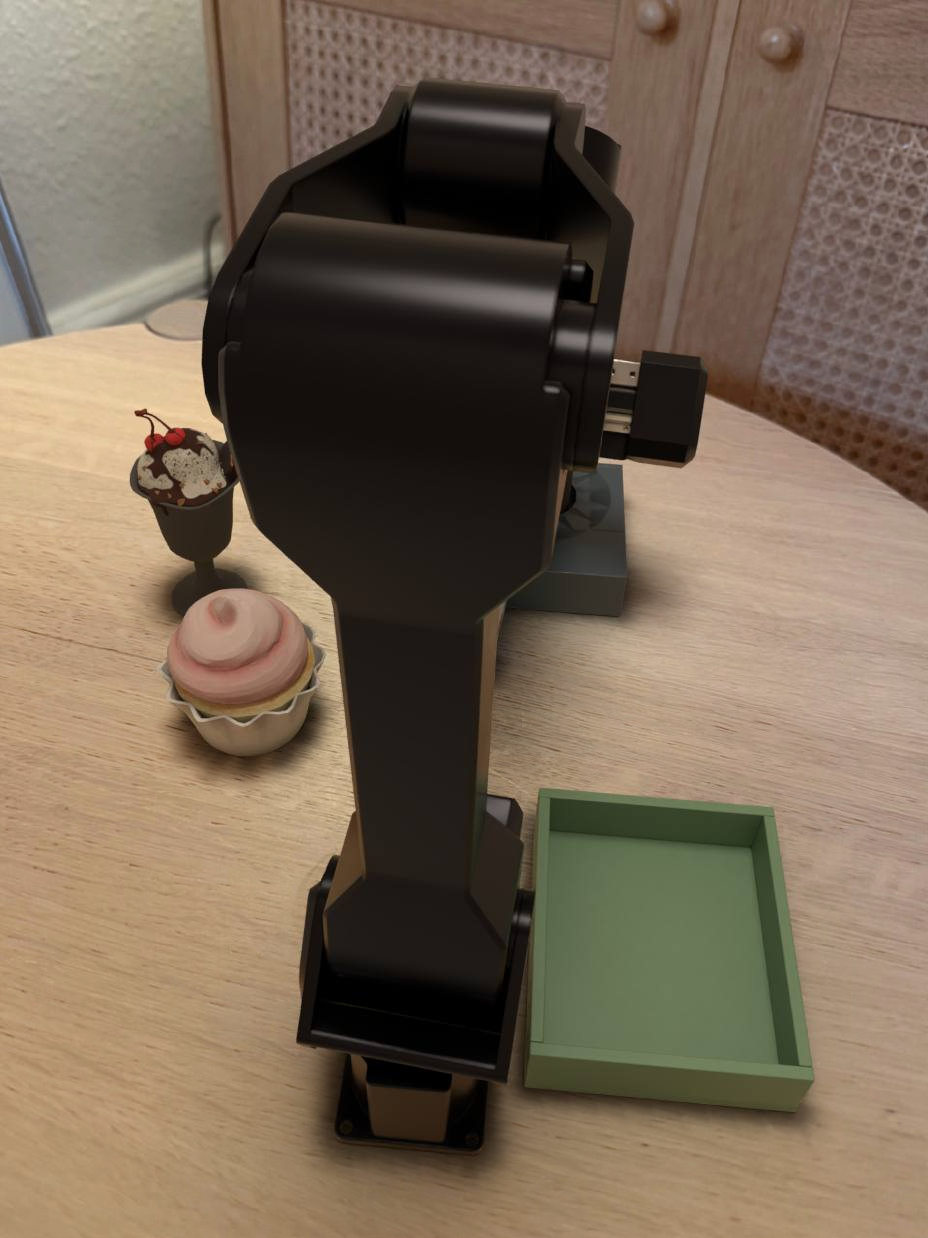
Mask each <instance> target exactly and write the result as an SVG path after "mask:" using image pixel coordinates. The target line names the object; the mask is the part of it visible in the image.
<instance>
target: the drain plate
mask: <svg viewBox="0 0 928 1238" xmlns="http://www.w3.org/2000/svg"><path fill="white" fill-rule="evenodd" d="M623 469H624V466H623V464H618V463H606V462H605V463H603V462H598V467H597V473H596V474H591V473H584V472H577V471H573V477H572V484H571V492H570V500H569V508H568V511H567V512H565V513H563V514H561V515H559V520H558V526H557V531H556V537H555V542H554V548H553V553H552V558H551V563H550V566H549V567H548V568H547V569H546V570H545V571H544V572H543V573H542V574H540V575H539V576H538V577H536V578H535V579H534V580H533V581H531V582H530V583H529V584H527V585H526V586H525V587H523V588H522V589H521V590H520V591H518V592H517V593H516V594H514V595H513V596H512V597H510V598H509V599H508V600H507V603H506V607H505V609H506V608H507V609H517V610H519V609H520V610H533V611H542V612H543V611H544V612H546V611H547V612H556V613H557V612H558V613H571V614H585V615H596V616H609V617H621V613H622V610H623V609H622V608H623V603H624V597H625V593H626V588H627V582H628V561H627V539H626V537H627V535H626V514H625V513H626V512H625V511H626V510H625V490H624V470H623Z"/></svg>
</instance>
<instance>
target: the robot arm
mask: <svg viewBox="0 0 928 1238" xmlns="http://www.w3.org/2000/svg"><path fill="white" fill-rule="evenodd" d="M586 113H587V108H586V104H585V103H581V102H572V101H571V102H570V101H567V100H566V98H565V97H564V95H563V94H562V93H561V91H560V90H559V89H552V88H541V87H540V88H539V87H531V86H522V85H512V84H511V85H510V84H502V83H501V84H500V83H491V82H490V83H489V82H479V81H470V80H460V79H459V80H458V79H450V78H449V79H448V78H439V77H429V76H424V77H423V78H422V79H421V80H420V81H418V82H417V83H416V85H414V86H409V85H399V84H398V85H397V84H396V86H395V87H394V88H393V89H392V90H391V91H390V93H389V95H388V97H387V100H386V101H385V103H384V105H383V108H382V109H381V112H380V113H379V116H378V118H377V119H376V122H375V123H374V124H373V125H371V126H370V127H368V128H366V129H364V130H362V131H360V132H358V133H356V134H355V135H353V136H350V137H348V138H347V139H345V140H343V141H341V142H339V143H337V144H336V145H334V146H332V147H330V148H328V149H326V150H324V151H323V152H322V151H321V153H319V154H317V155H315V156H313V157H311V158H309V159H307V160H305V161H303V162H301V163H299V164H298V165H295V166H294V167H292V168H290V169H288V170H286V171H284V172H283V173H280V174H278V176H276V177H275V178H274V179H273V180H272V181H271V182H269V184H268V186H267V187H266V188H265V190H264V192H263V194H262V196H261V197H260V199H259V201H258V203H257V205H256V206H255V208H254V210H253V212H252V213H251V215H250V216H249V219H248V220H247V222H246V224H245V225H244V227H243V229H242V230H241V232H240V234H239V236H238V237H237V239H236V241H235V243H234V245H233V247H232V248H231V249H230V251H229V253H228V255H227V257H226V259H225V260H224V261H223V264H222V265H221V267H220V269H219V271H218V273H217V275H216V278H215V280H214V283H213V285H212V288H211V290H210V292H209V295H208V299H207V304H206V310H205V315H204V320H203V326H202V334H201V335H202V338H201V363H200V364H201V374H202V380H203V390H204V395H205V398H206V401H207V404H208V407H209V410H210V412H211V415H212V416H213V417H214V418H215V419H216V420H218V422H220V423H221V424H222V426H223V431H224V434H225V438H226V439H225V440H226V441H227V442H228V446H229V449H230V452H231V455H232V459H233V462H234V465H235V468H236V472H237V475H238V478H239V484H240V488H241V490H242V495H243V498H244V501H245V504H246V507H247V510H248V513H249V517H250V519H251V522H252V523H253V525H254V526H255V527H256V529H257V530H258V531H259V532H260V533H261V534H262V535H263V536H264V537H265V538H266V539H267V540H268V541H269V542H270V543H272V545H274V546H275V547H276V548H277V550H279V551H280V552H281V553H282V554H284V555H285V556H286V557H287V559H289V560H290V561H291V562H292V563H293V564H294V565H295V566H296V567H297V568H298V569H300V570H301V572H303V573H304V574H305V575H306V576H308V577H309V579H311V580H312V581H313V583H315V584H316V585H317V586H318V587H319V588H320V589H322V591H323V592H325V593H326V594H327V595H329V597H330V601H331V607H332V612H333V613H332V614H333V621H334V631H335V640H336V649H337V656H338V657H337V659H338V666H339V675H340V676H339V677H340V684H341V685H340V686H341V693H342V702H343V711H344V712H343V713H344V720H345V728H346V737H347V738H346V739H347V745H348V747H347V748H348V755H349V756H348V757H349V763H350V774H351V783H352V792H353V801H354V810H355V811H353V812H352V813H351V816H350V818H349V819H350V820H349V823H348V826H347V830H346V832H345V837H344V839H343V844H342V847H341V851H340V854H333V855H331V857H330V859H329V860H328V862H327V865H326V867H325V870H324V872H323V873H322V877H321V879H320V881H318V882H317V883H316V884H314V885H313V886H311V887H310V888H309V890H308V894H307V900H306V908H305V917H304V926H303V934H302V942H301V950H300V960H299V967H298V971H299V972H298V986H299V987H298V988H299V992H300V999H301V1002H300V1009H299V1017H298V1025H297V1030H296V1038H295V1043H296V1044H297V1045H299V1046H301V1047H304V1048H308V1049H313V1050H317V1048H318V1049H324V1050H327V1051H333V1052H338V1053H344V1054H345V1057H344V1058H345V1059H344V1064H343V1070H342V1077H341V1084H340V1089H339V1094H338V1095H339V1097H338V1104H337V1108H336V1115H335V1121H334V1134H335V1137H336V1139H337V1140H338V1141H339V1142H341V1143H345V1144H354V1145H355V1144H356V1145H365V1146H376V1147H385V1148H397V1149H407V1150H417V1151H427V1152H437V1153H438V1152H439V1153H449V1154H461V1155H471V1156H473V1155H477V1154H479V1153H480V1152H481V1151H482V1150H483V1148H484V1143H485V1131H486V1116H487V1114H486V1113H487V1100H488V1099H487V1098H488V1084H489V1082H490V1083H491V1082H492V1083H493V1084H494V1085H495V1086H496V1085H498V1086H501V1087H507V1085H508V1080H509V1072H510V1066H511V1060H512V1053H513V1047H514V1041H515V1034H516V1029H517V1022H518V1014H519V1009H520V1008H519V1007H520V1002H521V995H522V988H523V983H524V982H523V981H524V975H525V970H526V969H525V968H526V961H527V955H528V950H529V941H530V929H531V922H532V915H533V908H534V902H535V895H536V890H533V889H532V888H526V887H521V880H522V873H523V864H524V855H525V854H524V853H525V843H524V842H523V840H522V839H521V837H522V829H523V821H524V810H523V809H522V807H521V806H520V804H519V802H518V800H517V799H516V798H514V797H509V796H504V795H497V794H491V793H488V791H489V790H488V789H489V774H490V759H491V758H490V757H491V744H492V742H491V741H492V727H493V712H494V695H495V681H496V680H495V679H496V665H497V664H496V663H497V648H498V639H497V634H498V619H499V606H500V605H501V604H503V603H504V602H505V601H507V600H508V599H509V598H510V597H512V596H513V595H514V594H516V593H517V592H518V591H520V590H521V589H522V588H523V587H525V586H526V585H527V584H529V583H530V582H531V581H533V580H534V579H535V578H536V577H538V576H539V575H540V574H542V573H543V572H544V571H545V570H546V569H547V568H548V567H549V566H550V563H551V558H552V553H553V548H554V542H555V537H556V531H557V526H558V520H559V515H560V509H561V504H562V498H563V493H564V487H565V482H566V476H567V471H568V470H570V471H577V472H584V473H591V474H596V473H597V467H598V463H599V461H600V458H601V459H608V460H615V461H627V460H628V461H631V462H634V463H638V464H644V465H646V464H647V465H652V466H659V467H660V466H661V467H667V468H674V469H675V468H676V469H683V468H685V467H686V466H687V465H688V464H690V463H691V462H693V460H694V458H695V457H696V453H697V450H698V445H699V438H700V431H701V425H702V419H703V413H704V406H705V400H706V394H707V393H706V392H707V387H708V380H709V367H708V365H707V364H706V362H705V361H704V360H703V358H702V357H701V356H697V355H688V354H679V353H671V352H663V351H655V350H648V349H645V350H644V349H642V350H641V355H640V361H638V360H633V359H624V358H617V357H616V351H617V344H618V337H619V330H620V323H621V319H622V318H621V315H622V311H623V310H622V309H623V303H624V297H625V289H626V282H627V277H628V268H629V263H630V255H631V249H632V242H633V235H634V227H635V221H634V218H633V216H632V213H631V212H630V211H629V209H628V208H627V207H626V205H624V203H623V201H621V200H620V198H619V197H618V196H617V195H616V191H617V187H618V186H617V185H618V179H619V172H620V166H621V158H622V153H623V151H622V150H623V149H622V145H621V144H619V143H618V142H617V141H615V140H614V139H613V138H612V137H610V136H609V134H606V133H605V132H602V131H600V130H598V129H596V128H593V127H590V126H587V125H586V117H587V116H586ZM498 635H499V634H498ZM344 1126H350V1128H351V1129H350V1130H349V1132H343V1131H342V1128H343V1127H344ZM471 1137H473V1138H475V1139H476V1141H477V1142H476V1143H475V1144H473V1145H472V1144H470V1143H469V1142H468V1139H469V1138H471Z"/></svg>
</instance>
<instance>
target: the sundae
mask: <svg viewBox="0 0 928 1238" xmlns="http://www.w3.org/2000/svg"><path fill="white" fill-rule="evenodd" d="M134 415H135V417H138V418H144V419H146V420H148V421H149V424H150V434H148V435H147V436H146V437H145V439H144V441H143V442H144V443H143V444H144V447H145V449H144V451H143V452H142V454H140V456H138V457H137V458H136V459H135V461H134V464H133V465H132V467H131V470H130V473H129V486H130V488H131V490H132V491H133V492H134V493H135V494H137V495H138V496H139V497H141V498H142V499H145V500H147V501H148V504H149V505H150V507H151V510H152V511H153V514H154V516H155V519H156V521H157V525H158V527H159V530H160V533H161V535H162V537H163V539H164V541H165V543H166V545H167V547H168V548H169V550H170V552H172V553H173V554H174V555H175V556H178V557H180V558H182V559H184V560H186V561H188V562H192V563H193V564H194V569H195V571H192V572H191V573H188V574H186V575H185V576H184V577H182V578H181V579H180V580H179V581H178V582H177V583H176V584H175V585H174V587H173V588H172V592H171V594H170V601H171V605H172V607H173V608H174V609H175V610H176V611H177V612H178V613H179V615H182V616H185V615H186V613H187V611H188V609H189V608H190V607H191V606H192V605H193V604H194V603H195V602H197V601H198V600H200V599H201V598H203V597H205V596H207V595H209V594H211V593H213V592H216V591H219V590H224V589H248V585H247V583H246V581H245V580H244V579H243V578H242V577H241V576H240V575H239V574H238V573H235V572H233V571H230V570H228V569H226V568H221V567H215V562H214V559H215V558H217V557H218V556H219V555H221V554H222V553H223V552H224V550H226V549H227V548H228V546H229V545H230V543H231V541H232V535H233V526H234V491H235V487H236V486H237V485H238V484H240V481H239V478H238V475H237V472H236V468H235V465H234V462H233V459H232V455H231V452H230V449H229V446H228V442H227V440H225V442H223V441H219V440H216V439H212V438H211V436H209V434H208V433H207V432H203V431H200V430H198V429H195V428H192V427H191V428H190V427H170V426H169V425H168V424H167V423H166V422H164V421H163V420H162V419H161V418H159V417H158V416H157V415H154V414H153V413H150V412H148V409H147V408H143V409H141V410H139V409H138V410H137V409H136V410H134ZM151 417H152V418H153V419H155V420H156V421H157V422H159V423H160V424H161V425H162V426H163V427H165V428H166V429H167V431H166V433H165V435H163V434H161V433H158V432H157V433H155V424H154V422H153V420H152V419H151Z"/></svg>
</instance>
